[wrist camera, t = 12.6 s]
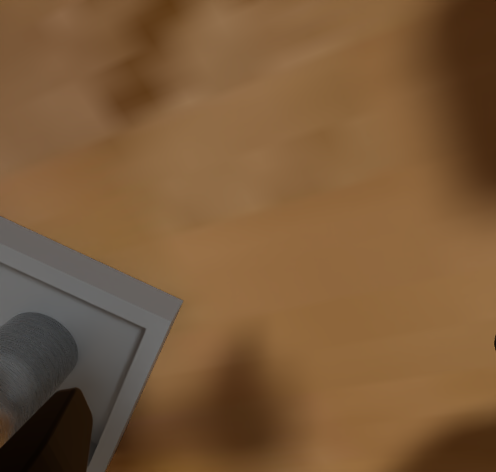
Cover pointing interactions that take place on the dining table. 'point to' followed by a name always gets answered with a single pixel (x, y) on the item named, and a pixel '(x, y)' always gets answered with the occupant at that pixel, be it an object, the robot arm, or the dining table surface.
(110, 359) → the tray
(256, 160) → the dining table surface
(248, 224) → the dining table surface
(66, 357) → the canister
